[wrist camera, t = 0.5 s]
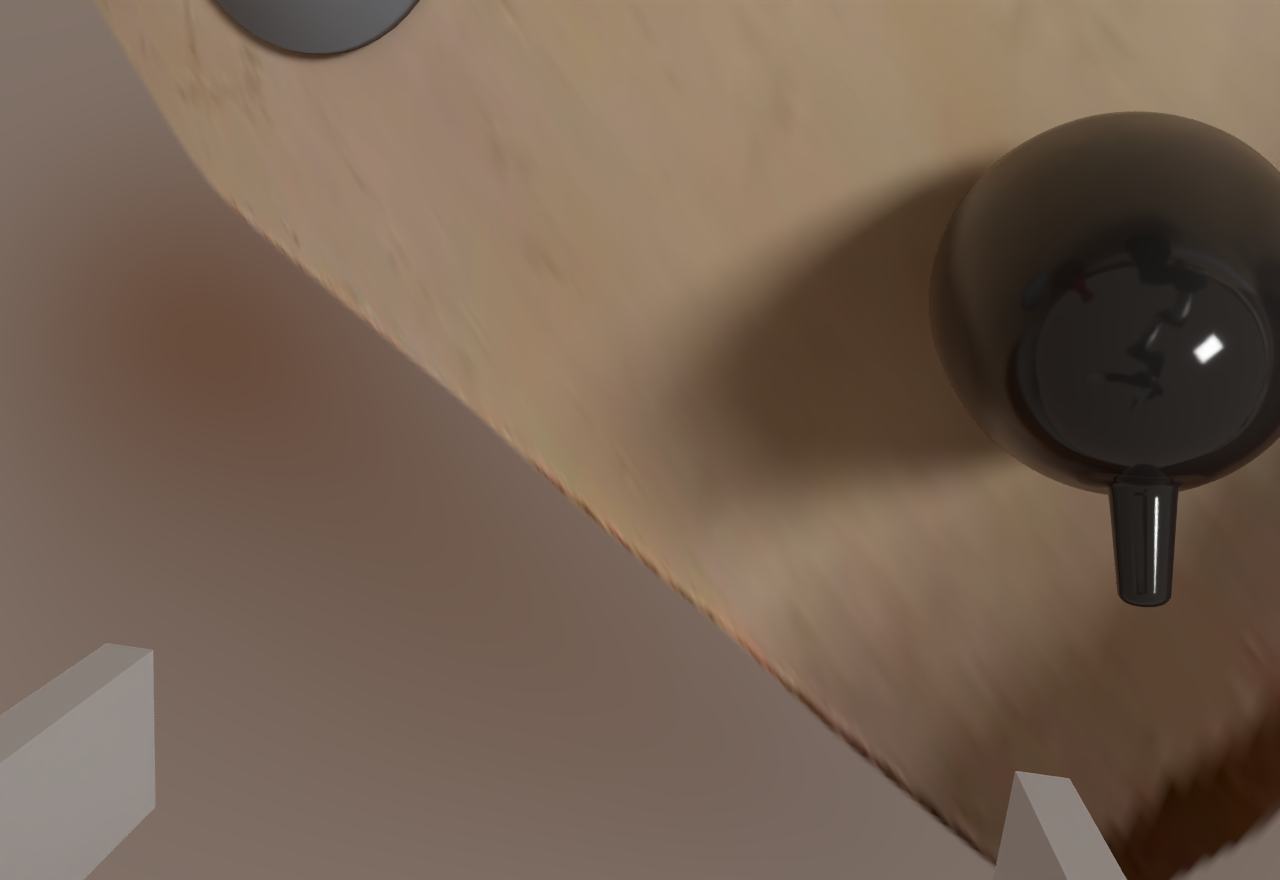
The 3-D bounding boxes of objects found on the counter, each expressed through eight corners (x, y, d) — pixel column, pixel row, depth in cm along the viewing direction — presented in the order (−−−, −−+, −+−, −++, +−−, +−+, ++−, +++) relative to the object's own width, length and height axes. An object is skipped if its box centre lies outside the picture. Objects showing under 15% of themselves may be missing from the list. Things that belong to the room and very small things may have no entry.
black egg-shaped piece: (939, 426, 37) (900, 619, 23) (934, 127, 34) (888, 145, 20) (1263, 426, 33) (1442, 652, 20) (1289, 93, 30) (1522, 87, 17)
